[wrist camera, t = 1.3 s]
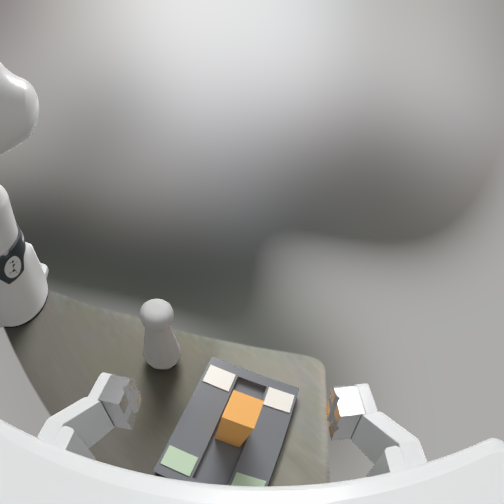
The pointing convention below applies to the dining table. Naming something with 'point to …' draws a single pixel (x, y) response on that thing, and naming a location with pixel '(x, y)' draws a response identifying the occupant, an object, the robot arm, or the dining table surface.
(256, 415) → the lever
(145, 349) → the salt shaker
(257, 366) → the dining table surface
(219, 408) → the panel
